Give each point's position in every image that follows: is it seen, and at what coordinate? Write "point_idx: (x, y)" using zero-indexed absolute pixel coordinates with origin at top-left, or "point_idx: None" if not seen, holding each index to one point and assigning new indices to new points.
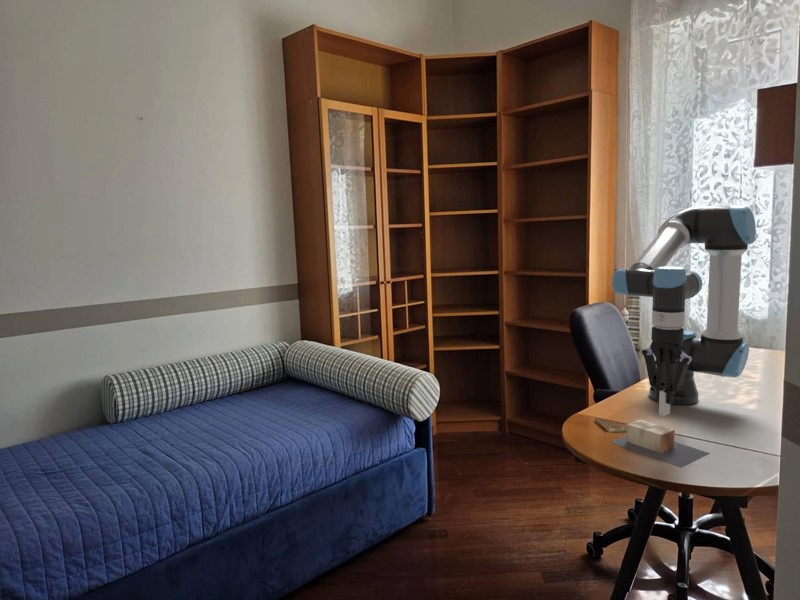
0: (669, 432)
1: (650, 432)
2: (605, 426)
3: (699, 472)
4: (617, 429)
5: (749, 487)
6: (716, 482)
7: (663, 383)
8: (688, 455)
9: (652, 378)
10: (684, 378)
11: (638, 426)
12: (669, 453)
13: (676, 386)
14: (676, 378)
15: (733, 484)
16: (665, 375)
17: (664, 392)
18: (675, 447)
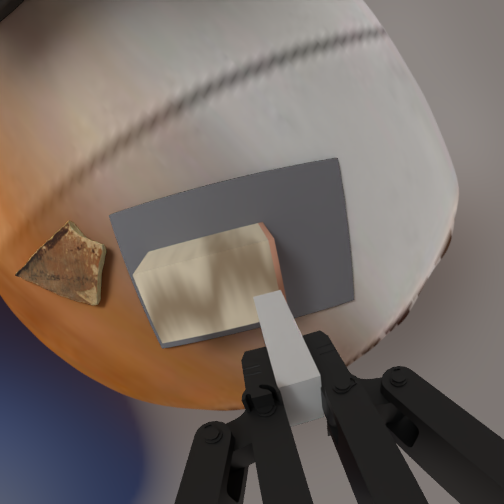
0: (280, 271)
1: (246, 322)
2: (70, 297)
3: (379, 271)
4: (97, 287)
5: (449, 236)
6: (415, 275)
7: (283, 434)
8: (321, 228)
9: (240, 496)
10: (470, 416)
11: (193, 328)
12: (287, 266)
13: (411, 426)
14: (432, 465)
15: (433, 252)
16: (306, 484)
17: (320, 416)
18: (262, 215)
